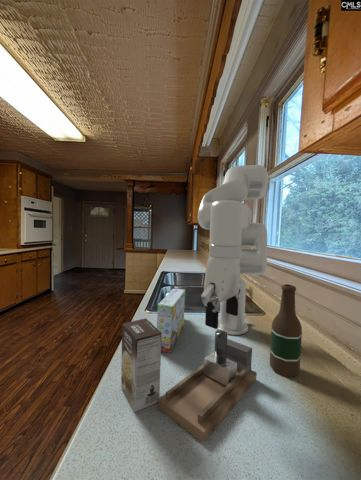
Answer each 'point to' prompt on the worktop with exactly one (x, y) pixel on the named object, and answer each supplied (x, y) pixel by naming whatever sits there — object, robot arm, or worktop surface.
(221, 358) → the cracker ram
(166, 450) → the worktop surface
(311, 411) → the worktop surface
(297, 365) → the beer bottle
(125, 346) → the coffee box
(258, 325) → the worktop surface
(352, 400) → the worktop surface
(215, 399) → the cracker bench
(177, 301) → the snack box
